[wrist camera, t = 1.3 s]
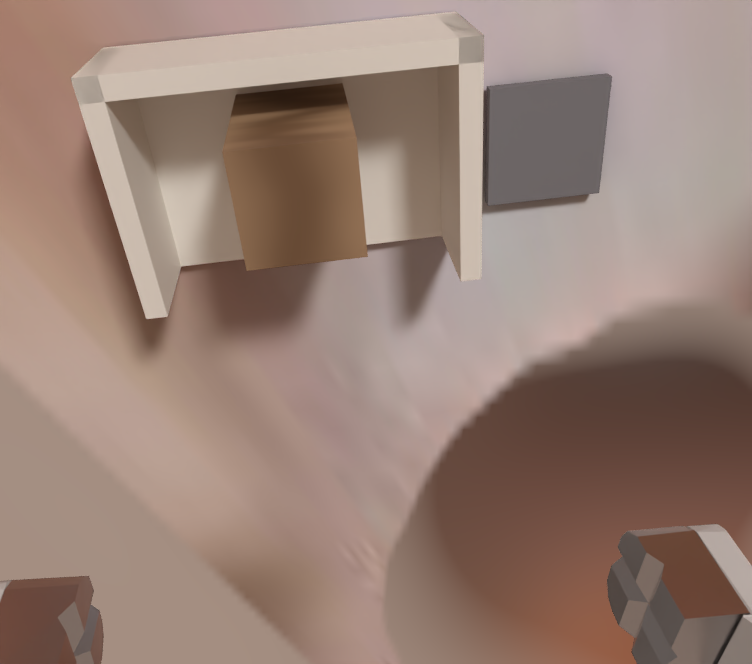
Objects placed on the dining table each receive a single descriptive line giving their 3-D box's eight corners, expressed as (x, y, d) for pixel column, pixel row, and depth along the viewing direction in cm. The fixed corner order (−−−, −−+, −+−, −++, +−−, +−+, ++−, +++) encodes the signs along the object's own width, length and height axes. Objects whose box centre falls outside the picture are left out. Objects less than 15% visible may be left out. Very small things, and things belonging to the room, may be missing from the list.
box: (455, 11, 32) (483, 35, 27) (458, 229, 38) (481, 278, 33) (102, 47, 31) (70, 78, 26) (163, 264, 37) (146, 319, 32)
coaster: (607, 73, 34) (612, 76, 33) (594, 188, 37) (598, 192, 37) (486, 86, 34) (490, 89, 33) (485, 201, 37) (488, 205, 36)
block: (342, 83, 32) (356, 137, 26) (352, 184, 35) (367, 256, 28) (235, 94, 32) (222, 152, 25) (254, 195, 35) (246, 270, 28)
